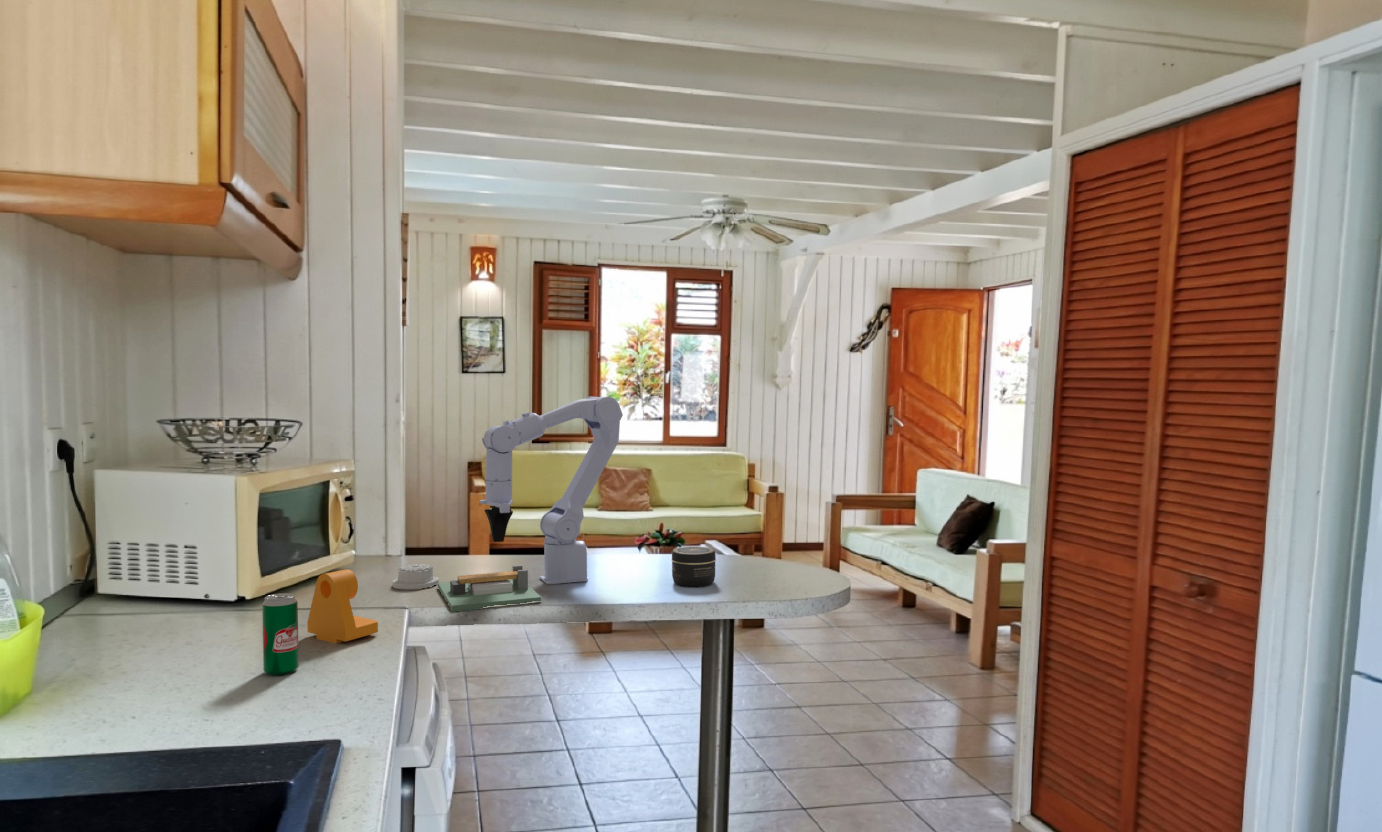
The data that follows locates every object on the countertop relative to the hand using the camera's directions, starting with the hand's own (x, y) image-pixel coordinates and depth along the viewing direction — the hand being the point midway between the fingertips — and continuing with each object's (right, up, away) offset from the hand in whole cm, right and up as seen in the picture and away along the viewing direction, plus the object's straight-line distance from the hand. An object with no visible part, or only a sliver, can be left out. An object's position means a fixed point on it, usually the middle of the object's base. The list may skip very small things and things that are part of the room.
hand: (498, 541), depth 197 cm
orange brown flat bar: (0, -7, -6) cm, 10 cm away
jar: (+43, -10, +5) cm, 45 cm away
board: (-1, -11, -6) cm, 12 cm away
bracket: (-20, -12, -37) cm, 44 cm away
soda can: (-22, -13, -57) cm, 62 cm away
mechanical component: (-19, -11, +4) cm, 23 cm away
